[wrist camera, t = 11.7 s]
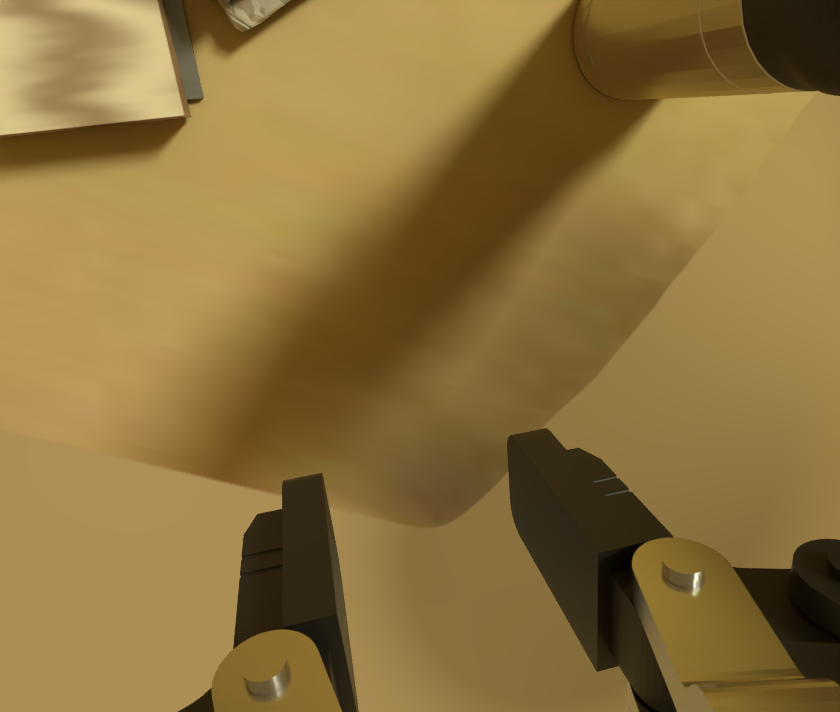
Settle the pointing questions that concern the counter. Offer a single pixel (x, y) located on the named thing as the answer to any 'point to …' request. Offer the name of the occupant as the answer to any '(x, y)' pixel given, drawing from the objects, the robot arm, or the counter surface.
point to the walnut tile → (86, 65)
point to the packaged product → (250, 11)
